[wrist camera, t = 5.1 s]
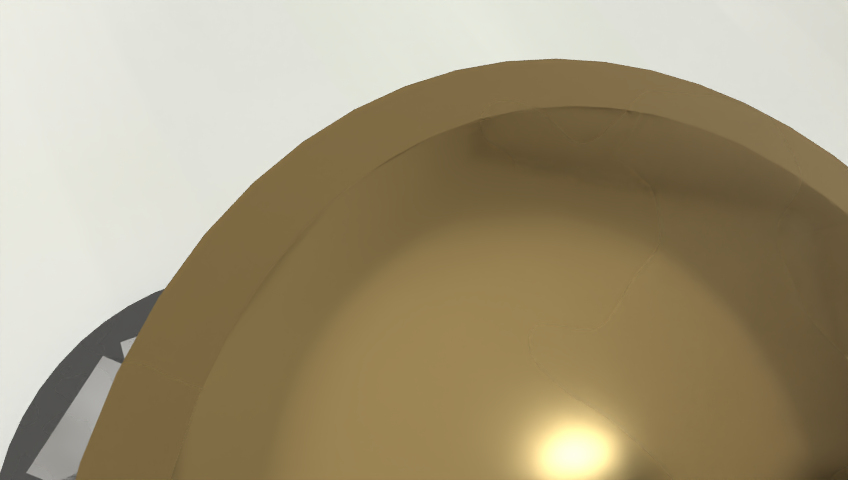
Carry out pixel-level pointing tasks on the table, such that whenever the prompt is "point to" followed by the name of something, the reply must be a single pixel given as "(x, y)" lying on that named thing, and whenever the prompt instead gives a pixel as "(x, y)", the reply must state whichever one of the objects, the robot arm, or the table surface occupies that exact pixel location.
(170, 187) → the table surface
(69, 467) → the flange
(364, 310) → the gold flared cylinder
